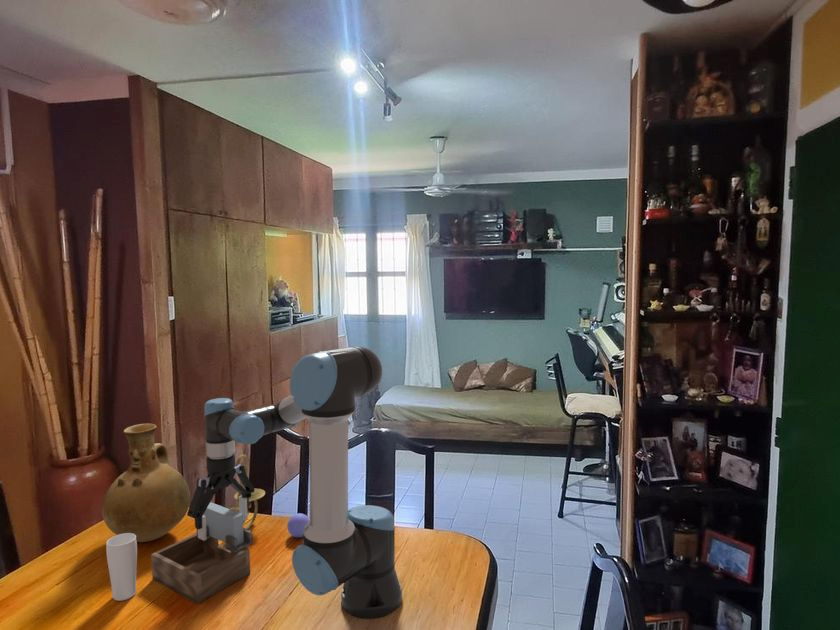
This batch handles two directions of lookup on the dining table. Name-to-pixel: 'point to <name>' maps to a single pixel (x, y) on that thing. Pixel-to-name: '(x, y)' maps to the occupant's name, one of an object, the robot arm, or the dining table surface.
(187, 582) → the box
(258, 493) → the wall sconce
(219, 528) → the door
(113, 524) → the vase
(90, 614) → the dining table surface
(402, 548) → the dining table surface
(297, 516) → the sphere
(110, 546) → the drinking glass
